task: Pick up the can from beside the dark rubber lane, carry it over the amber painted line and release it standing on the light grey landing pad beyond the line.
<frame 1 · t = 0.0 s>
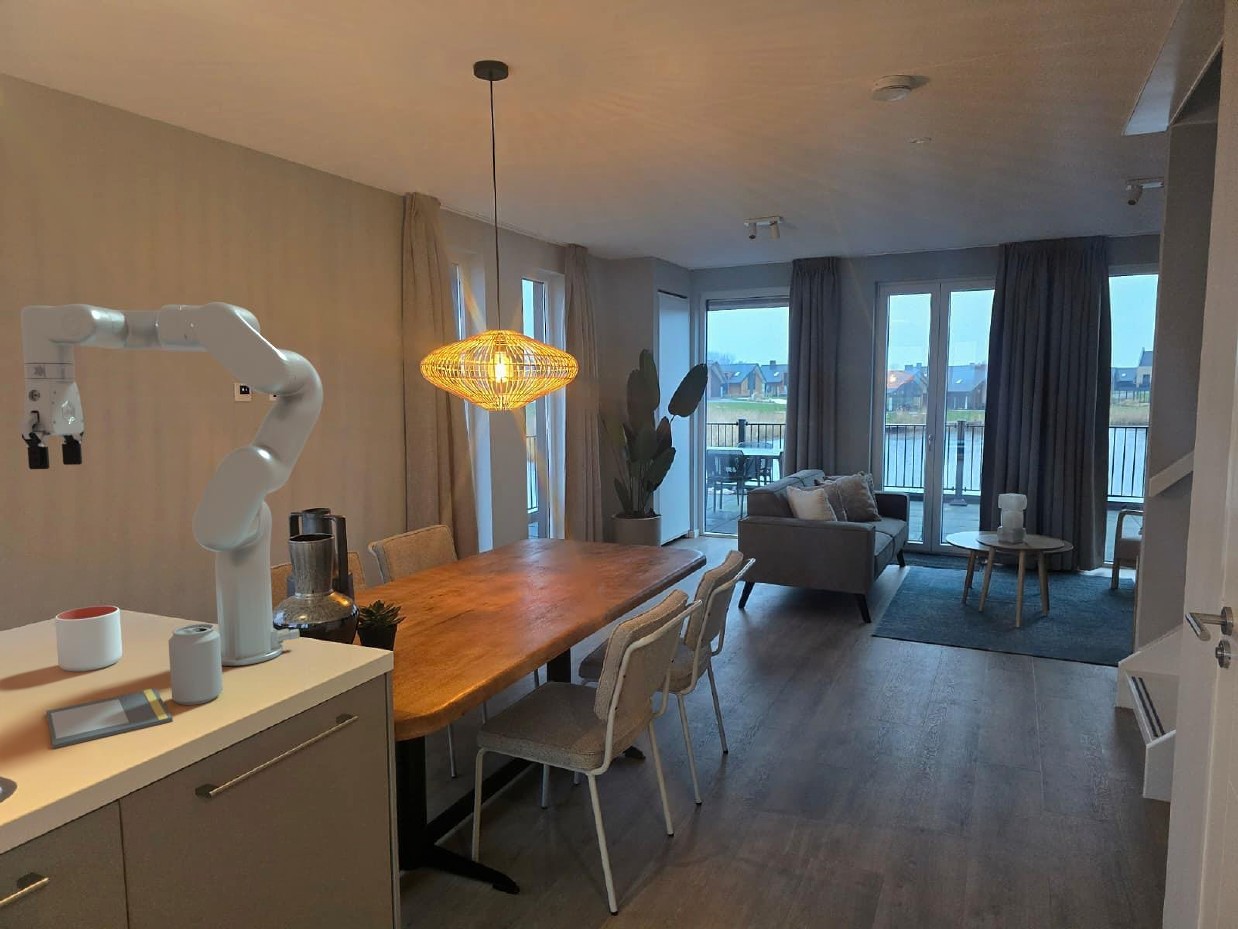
hand: (56, 466, 147), 37 cm above the counter, tool pointing down, fingers open, 9 cm apart
cup: (91, 665, 148), on the counter
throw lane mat: (108, 717, 123), on the counter
can: (197, 699, 131), on the counter
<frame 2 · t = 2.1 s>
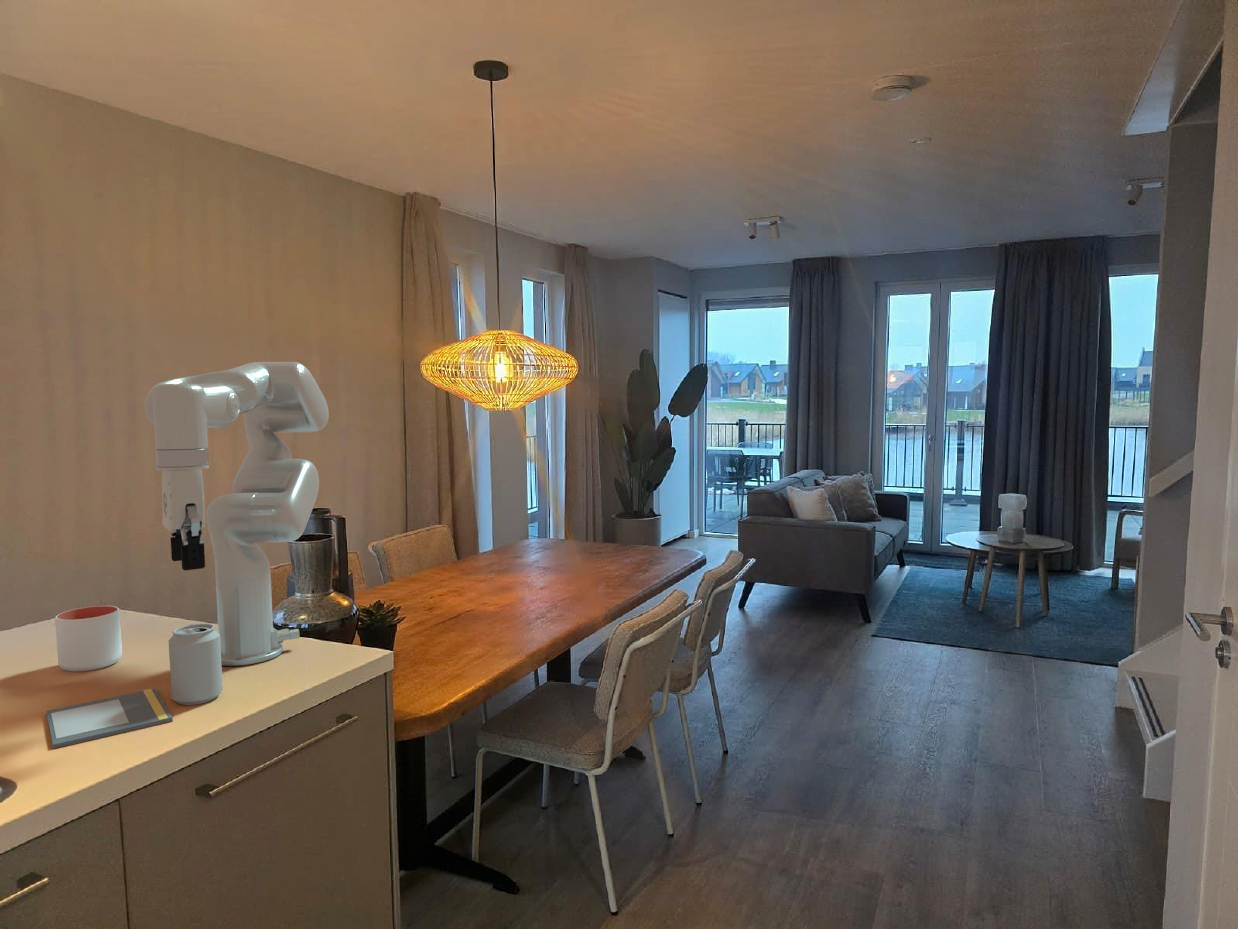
hand: (188, 564, 129), 23 cm above the counter, tool pointing down, fingers open, 9 cm apart
nothing on the counter moved.
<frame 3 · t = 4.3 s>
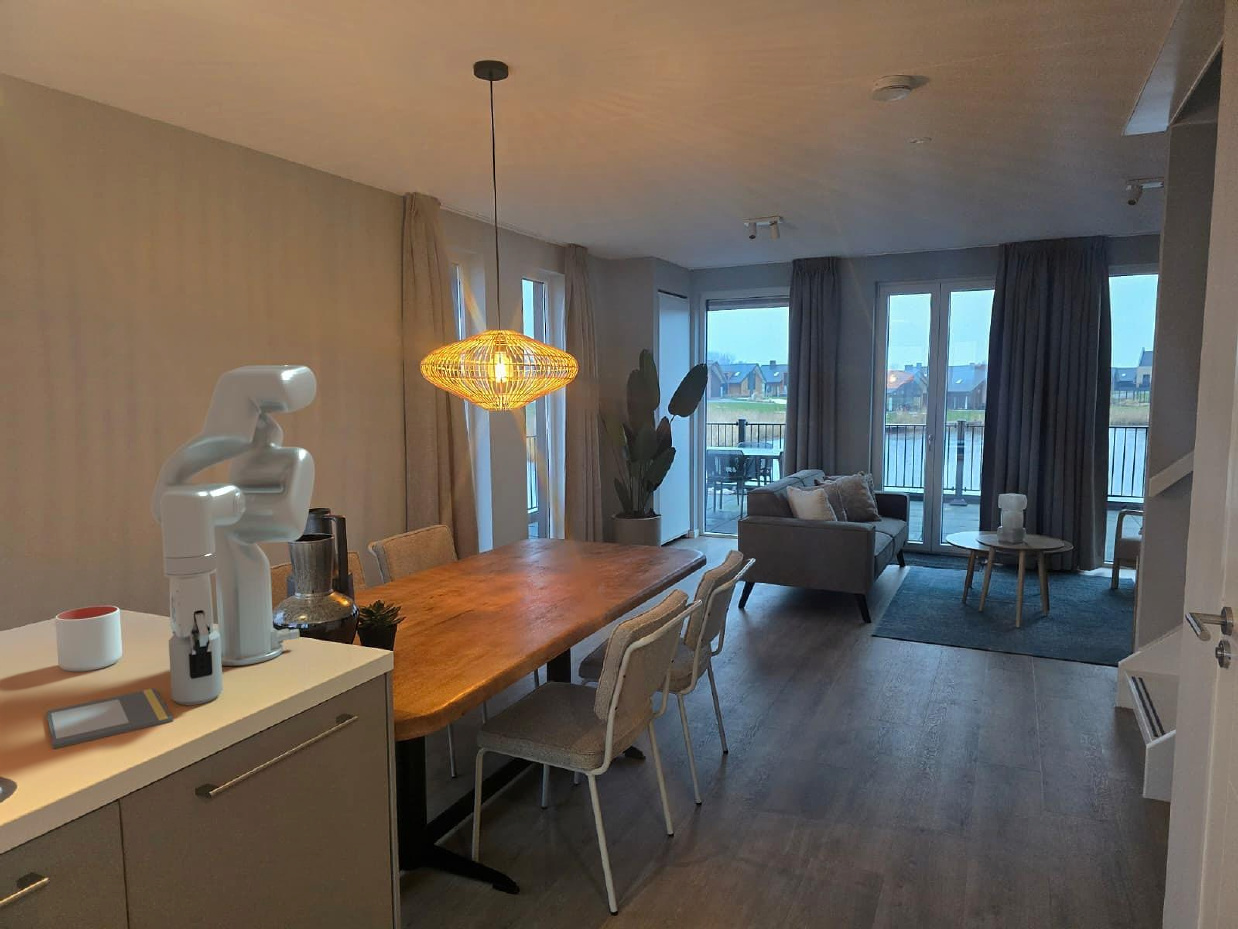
hand: (196, 669, 130), 5 cm above the counter, tool pointing down, fingers closed on can, 7 cm apart
can: (198, 699, 131), on the counter, touching gripper
everything else where it was.
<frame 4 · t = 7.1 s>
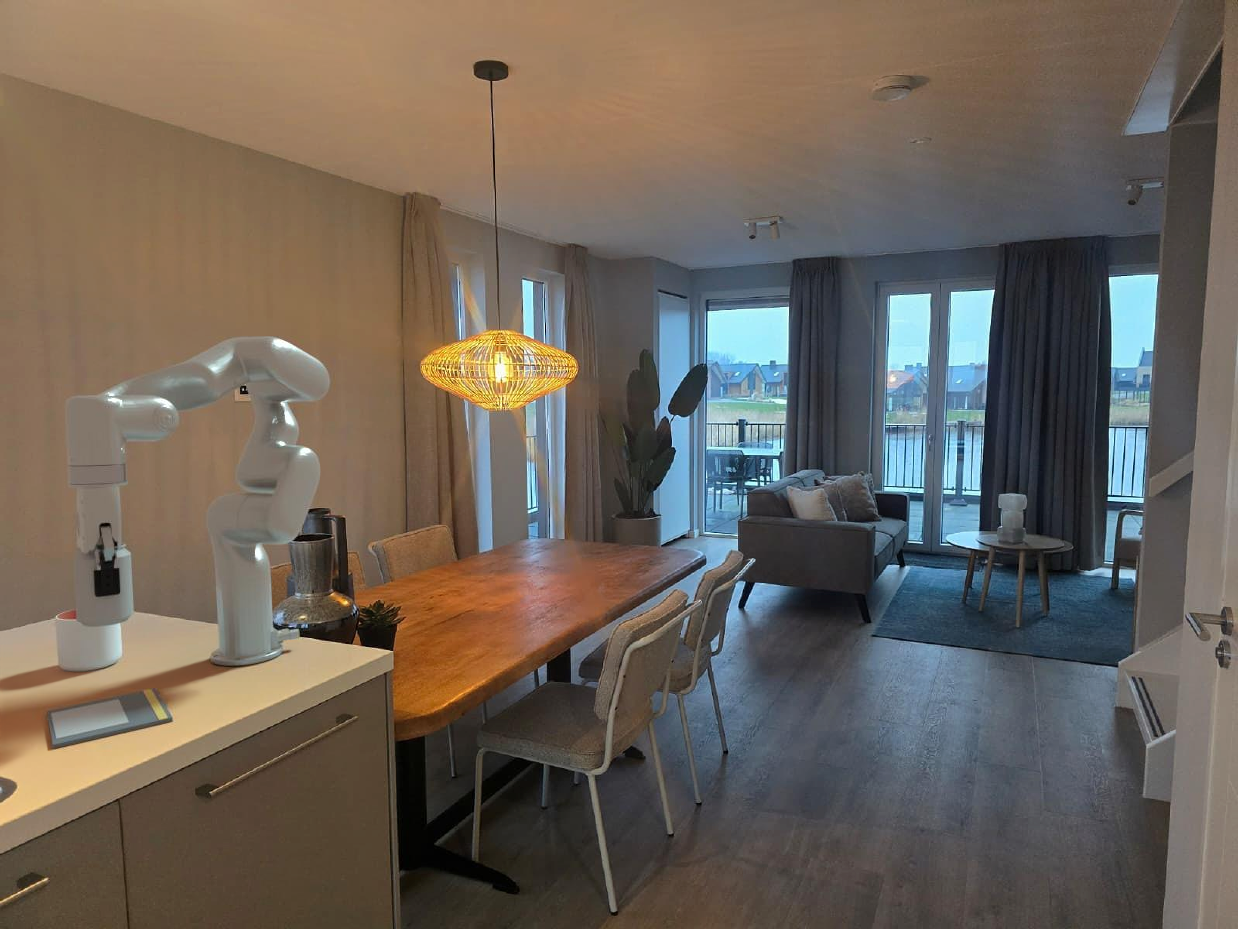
hand: (103, 590, 121), 20 cm above the counter, tool pointing down, fingers closed on can, 7 cm apart
can: (105, 623, 122), point 15 cm above the counter, touching gripper
everything else where it was.
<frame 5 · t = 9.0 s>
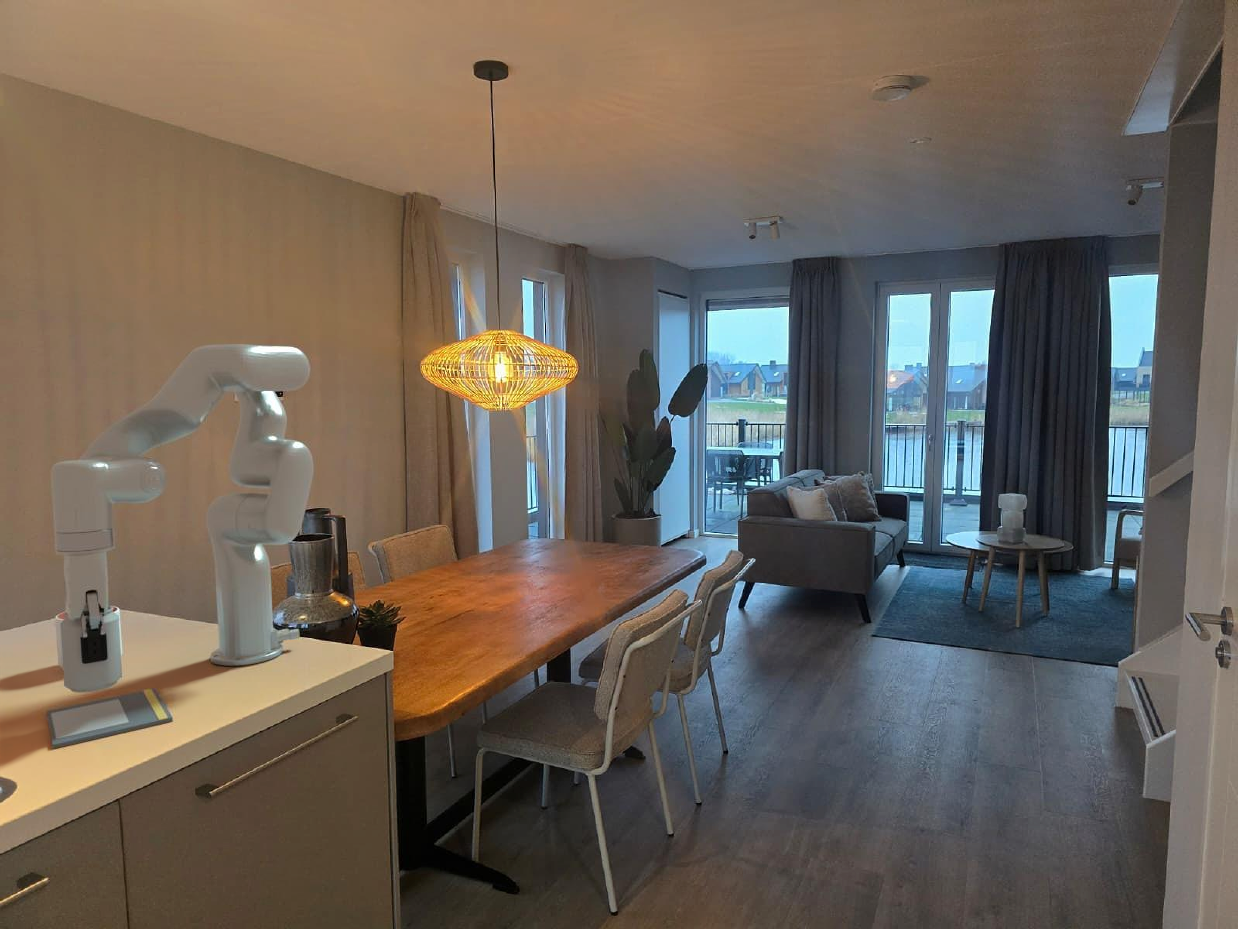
hand: (92, 654, 121), 11 cm above the counter, tool pointing down, fingers closed on can, 7 cm apart
can: (94, 687, 122), point 5 cm above the counter, touching gripper
everything else where it was.
when the fingers open (7 cm above the counter, at t = 10.3 s): can drops 2 cm, resting on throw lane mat.
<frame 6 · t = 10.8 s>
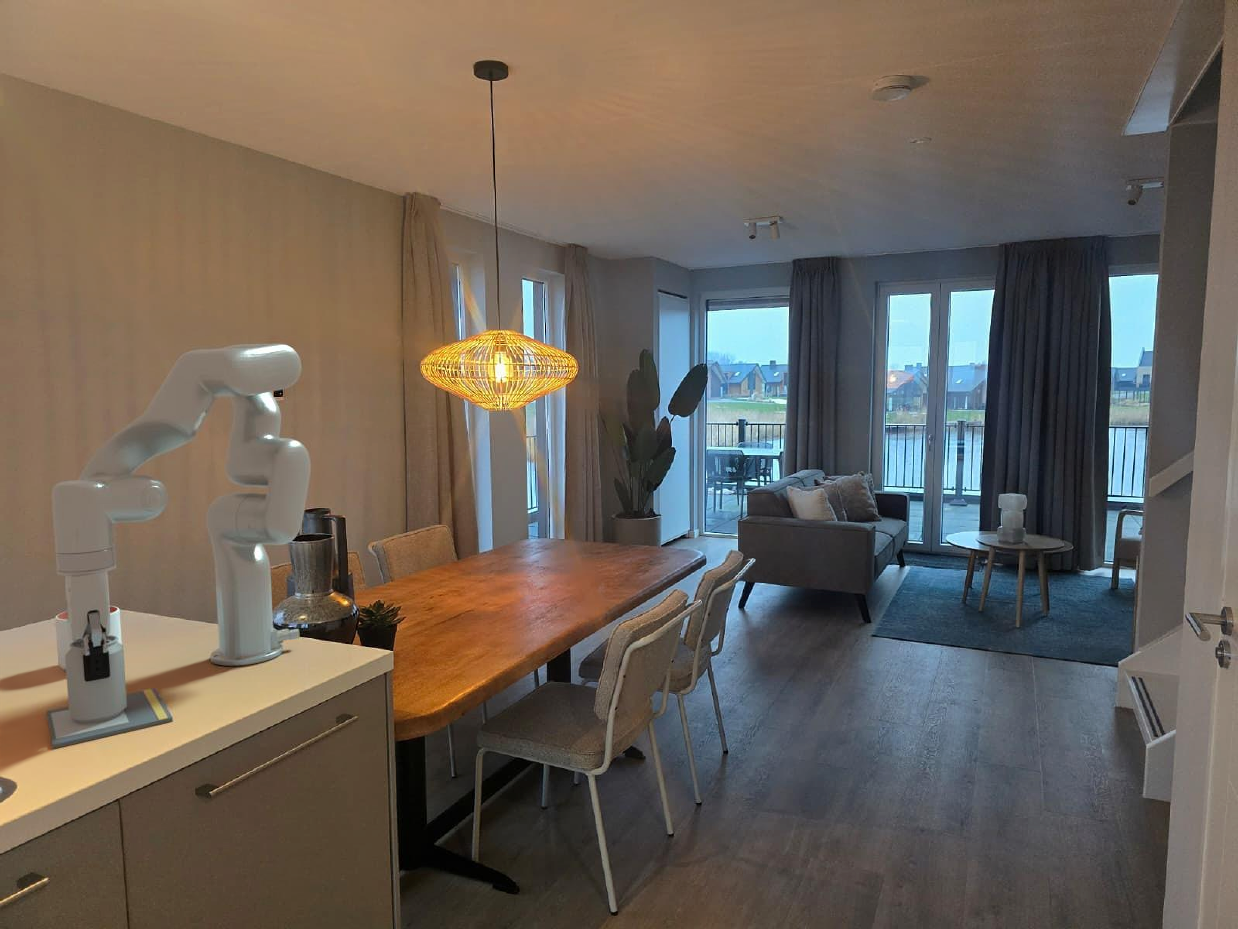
hand: (94, 670, 121), 8 cm above the counter, tool pointing down, fingers open, 9 cm apart
can: (99, 716, 122), resting on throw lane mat
everything else where it was.
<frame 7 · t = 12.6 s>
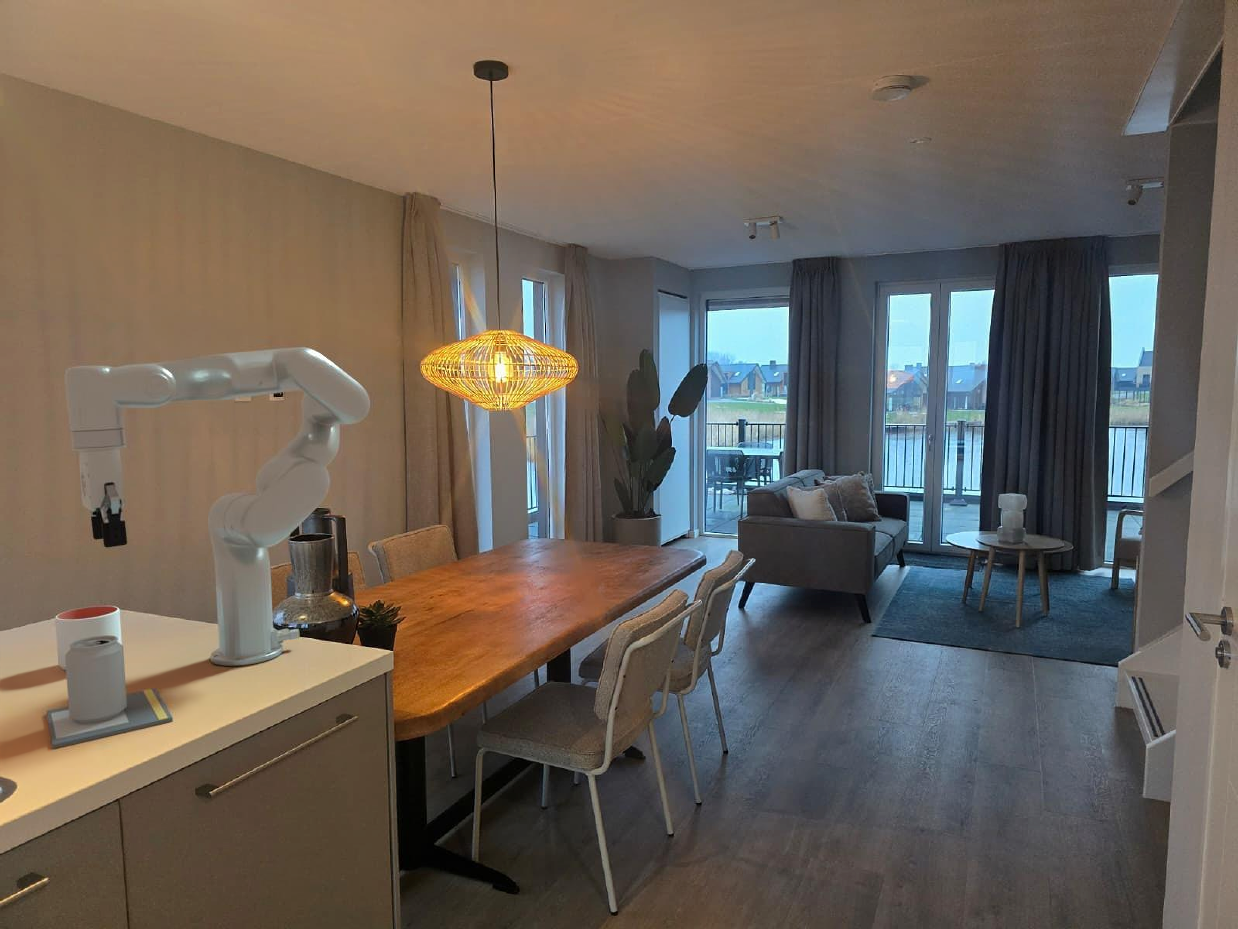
hand: (110, 542, 133), 26 cm above the counter, tool pointing down, fingers open, 9 cm apart
nothing on the counter moved.
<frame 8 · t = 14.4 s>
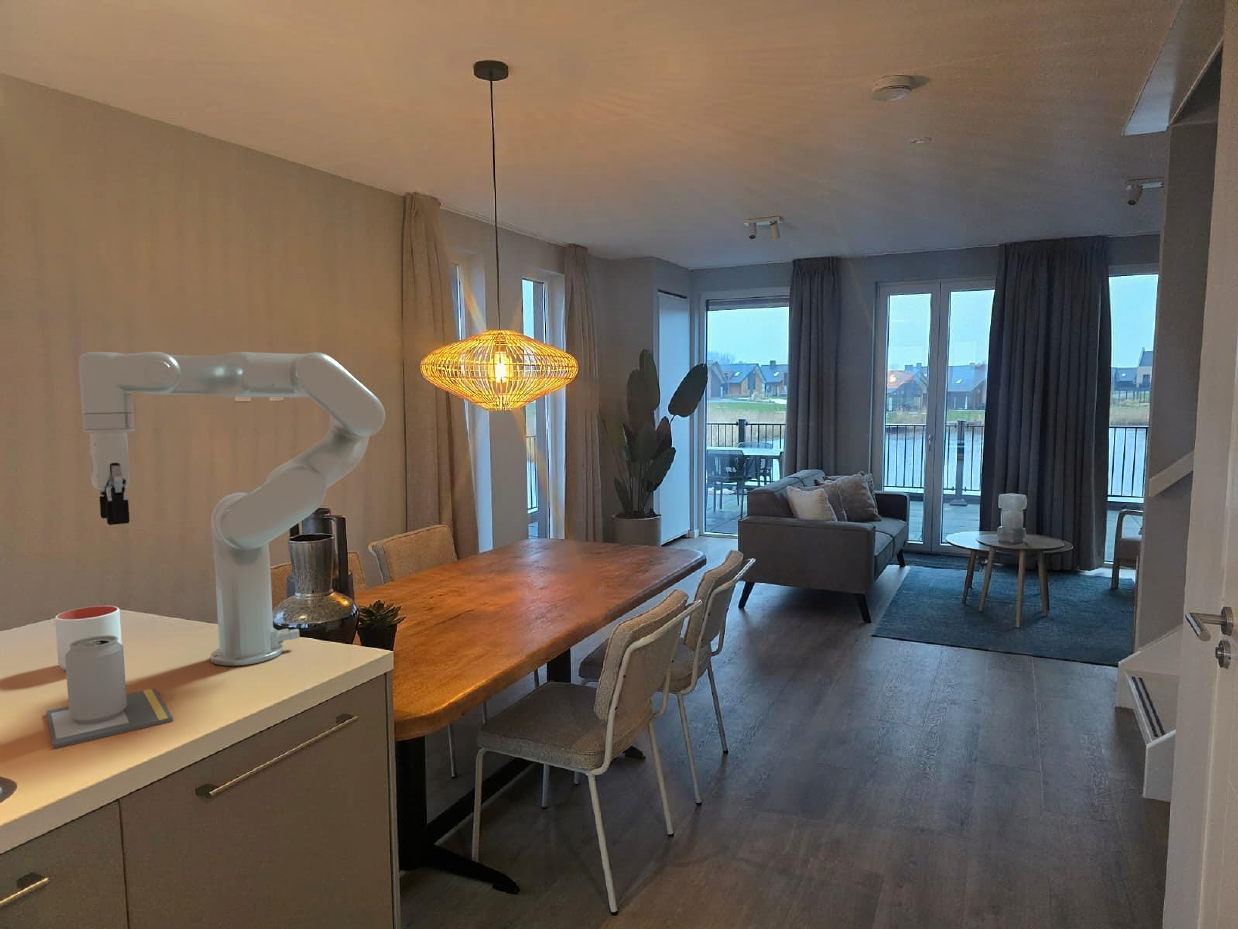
hand: (114, 520, 139), 28 cm above the counter, tool pointing down, fingers open, 9 cm apart
nothing on the counter moved.
at the end: can inside the target area (0.8 cm from its centre), point 0.5 cm above the counter; can tilted 0°; the gripper is holding nothing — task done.
